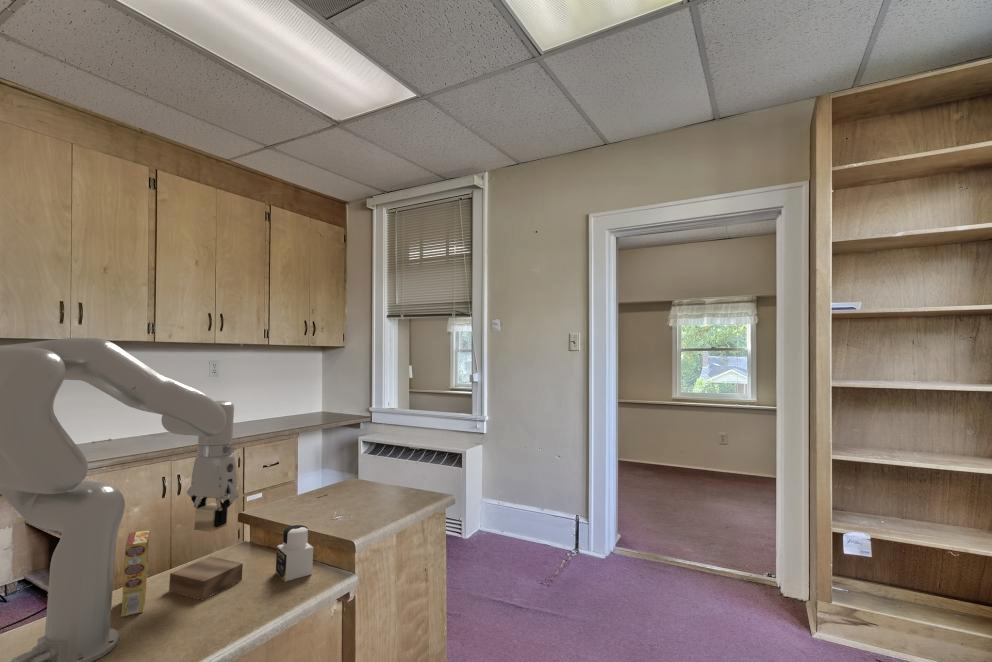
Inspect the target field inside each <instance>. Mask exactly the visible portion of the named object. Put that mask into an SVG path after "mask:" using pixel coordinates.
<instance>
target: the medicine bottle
mask: <svg viewBox="0 0 992 662" xmlns="http://www.w3.org/2000/svg"><path fill="white" fill-rule="evenodd" d="M282 535H283V536H282V537H283V538H282V544H278V545H277V546H276V558H275V574H276V575H278V577H279V578H281V580H282V581H284V582H290V581H293V580H297V579H300V578H304V577H307V576H310V575H312V574H313V562H314V559H313V558H314V546H312V544H309V543H308V539H309V528H308V526H305V525H303V524H296V525H295V524H294V525H291V526H288V527H286V528H284V530H283V534H282Z"/></svg>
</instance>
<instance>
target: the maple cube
mask: <svg viewBox="0 0 992 662" xmlns="http://www.w3.org/2000/svg"><path fill="white" fill-rule="evenodd" d="M194 509H195V512H194V529H193V530H195V531H201V532H209V533H212V532H215V531H216V530H219V529H221V528H224V527H227V526H228V520H227V521H226V524H224V525H222V526H219V527H215V511H217V510H218V509H217V504H216V503H215V502H211V503H209V504H206V505H205V506H203V507H200V508H197V509H196V508H194ZM228 511H229V508H227V518H228Z"/></svg>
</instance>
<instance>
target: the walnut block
mask: <svg viewBox="0 0 992 662" xmlns="http://www.w3.org/2000/svg"><path fill="white" fill-rule="evenodd" d="M243 567H244V565H243V562H239V561H233V560H229V559H225V558H219V557H215V556H209V557H207V558H203V559H200V560H199V561H197V562H194V563H192V564H189V565H187V566H185V567H182V568H180V569H177V570H175V571H172V572H170V573H169V583H168V584H169V586H168V592H170V591H172V592H171V593H174V592H175V593H176V594H178V593H180V594H179V595H182V594H184V595H183V596H186V595H187V596H186V597H190V596H191V598H194V597H195V599H197V598H199V599H198V600H201V599H203V600H205V599H207V598H209V597H211V596H213V595H215V594H217V593H220V592H222V591H223V590H225V589H227V588H229V587H231V586H233V585H235V584H237V583H239V582H241V581H242V580H243ZM240 580H241V581H240ZM238 581H239V582H238ZM236 582H237V583H236ZM234 583H235V584H234ZM232 584H233V585H232ZM230 585H231V586H230ZM228 586H229V587H228ZM226 587H227V588H226ZM216 592H217V593H216ZM214 593H215V594H214ZM212 594H213V595H212ZM210 595H211V596H210Z"/></svg>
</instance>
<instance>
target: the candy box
mask: <svg viewBox="0 0 992 662" xmlns="http://www.w3.org/2000/svg"><path fill="white" fill-rule="evenodd" d="M149 544H150V530H142V531H141V530H140V531H134V532H130V533H128V536H127V540H126V544H125V547H124V561H123V562H124V563H123V564H124V566H123V579H122V582H123V583H122V598H121V599H122V600H121V613H120V617H128V616H131V615H136V614H140V613H141V614H142V613H144V610H145V606H146V605H145V603H146V597H147V595H146V594H147V585H148V584H147V581H148V566H149V565H148V563H149V549H150V548H149V547H150V545H149Z"/></svg>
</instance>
